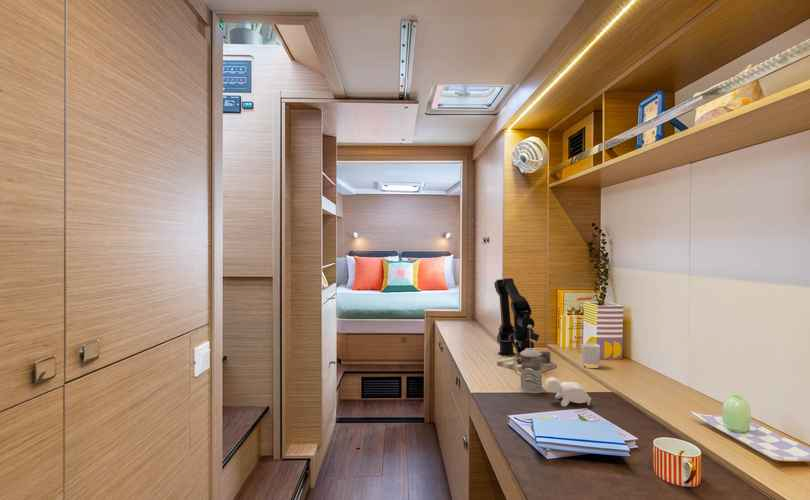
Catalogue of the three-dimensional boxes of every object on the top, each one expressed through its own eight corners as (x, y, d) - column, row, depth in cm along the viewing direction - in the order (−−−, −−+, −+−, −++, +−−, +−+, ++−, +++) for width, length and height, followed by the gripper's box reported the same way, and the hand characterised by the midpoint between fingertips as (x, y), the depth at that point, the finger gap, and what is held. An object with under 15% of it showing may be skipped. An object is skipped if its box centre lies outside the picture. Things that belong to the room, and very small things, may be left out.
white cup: (578, 365, 182) (577, 344, 183) (589, 363, 186) (589, 342, 186) (592, 370, 175) (591, 347, 175) (604, 367, 179) (603, 345, 179)
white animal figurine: (578, 406, 142) (538, 390, 144) (586, 384, 142) (546, 369, 143) (587, 416, 134) (544, 399, 135) (595, 393, 134) (553, 376, 135)
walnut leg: (548, 359, 185) (548, 351, 185) (551, 361, 181) (551, 353, 181) (515, 361, 184) (515, 352, 184) (518, 363, 180) (517, 354, 181)
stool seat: (496, 364, 187) (496, 352, 187) (521, 358, 197) (521, 346, 197) (531, 374, 171) (531, 361, 171) (556, 367, 181) (556, 354, 181)
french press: (547, 393, 147) (544, 327, 148) (515, 392, 150) (512, 326, 150) (543, 385, 157) (541, 322, 157) (513, 384, 159) (511, 322, 160)
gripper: (544, 329, 177) (545, 363, 177) (529, 321, 196) (530, 352, 196) (520, 330, 176) (521, 364, 177) (507, 322, 195) (508, 353, 195)
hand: (521, 358), depth 186 cm, fingers closed
